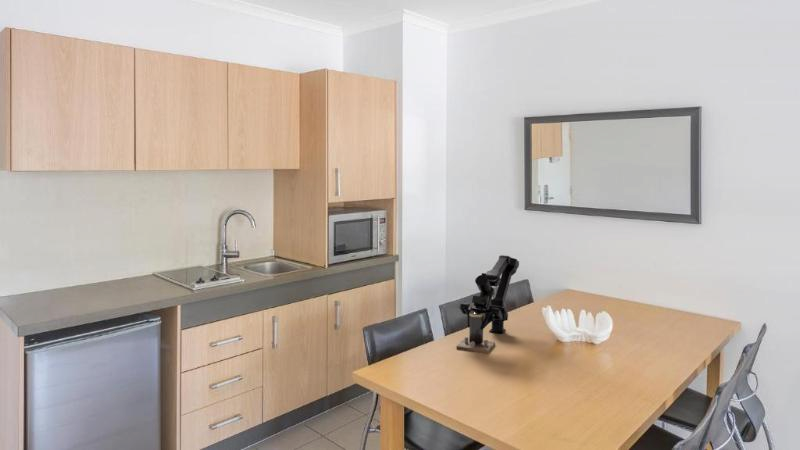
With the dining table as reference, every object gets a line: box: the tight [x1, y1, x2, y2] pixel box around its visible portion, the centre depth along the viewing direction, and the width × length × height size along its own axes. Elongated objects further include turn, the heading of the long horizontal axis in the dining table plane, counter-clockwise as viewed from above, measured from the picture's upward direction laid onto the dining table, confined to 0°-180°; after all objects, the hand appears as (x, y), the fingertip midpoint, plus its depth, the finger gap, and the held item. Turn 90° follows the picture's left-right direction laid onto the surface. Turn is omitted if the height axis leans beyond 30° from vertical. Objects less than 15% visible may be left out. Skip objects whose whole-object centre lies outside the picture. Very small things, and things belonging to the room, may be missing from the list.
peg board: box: [456, 336, 496, 354], centre depth 241 cm, size 12×14×4 cm
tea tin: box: [468, 311, 485, 344], centre depth 240 cm, size 6×6×13 cm
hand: (475, 327), depth 239 cm, fingers closed on tea tin, 6 cm apart
